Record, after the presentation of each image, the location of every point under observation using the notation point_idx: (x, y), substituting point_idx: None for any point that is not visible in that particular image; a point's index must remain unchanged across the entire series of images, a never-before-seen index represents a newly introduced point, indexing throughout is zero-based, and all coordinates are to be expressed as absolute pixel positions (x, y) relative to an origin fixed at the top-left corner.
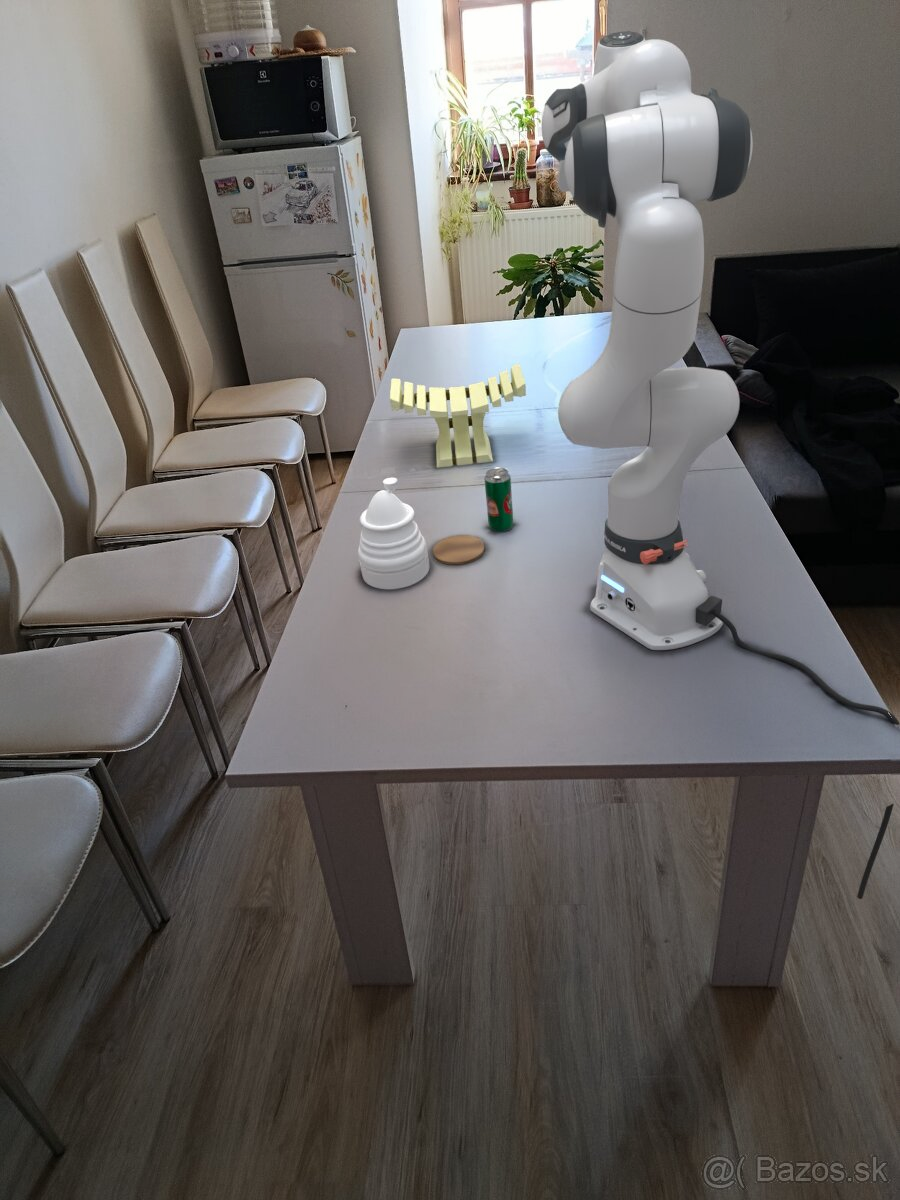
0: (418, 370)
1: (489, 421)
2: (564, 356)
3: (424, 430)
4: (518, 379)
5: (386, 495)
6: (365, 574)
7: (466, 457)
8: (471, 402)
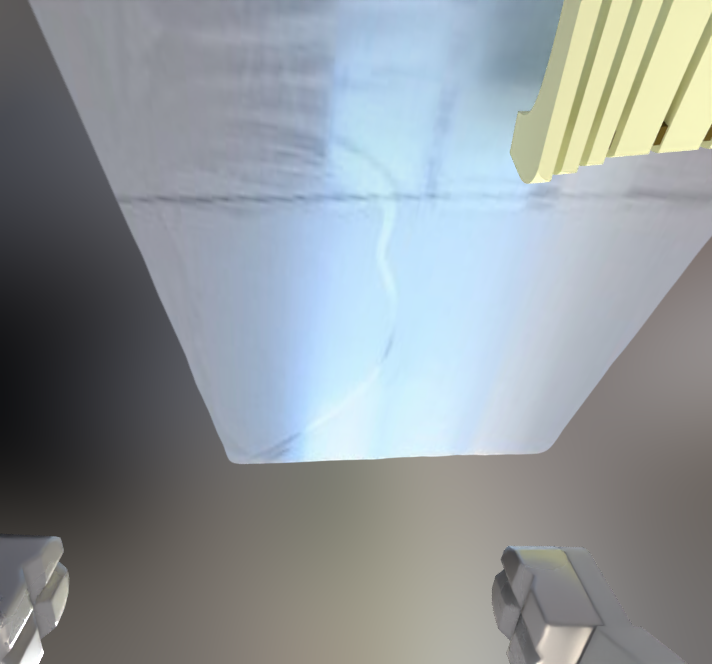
0: (582, 356)
1: None
2: (353, 369)
3: None
4: (575, 66)
5: None
6: None
7: None
8: (706, 20)
